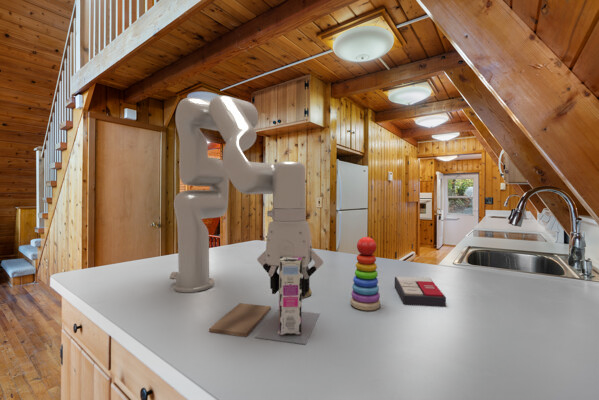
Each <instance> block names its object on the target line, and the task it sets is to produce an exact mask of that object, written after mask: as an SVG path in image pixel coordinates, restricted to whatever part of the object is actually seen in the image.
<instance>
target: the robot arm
mask: <svg viewBox="0 0 599 400" xmlns="http://www.w3.org/2000/svg"><path fill="white" fill-rule="evenodd" d="M174 117H175V126H176V127H175V128H176V130H177V134H178V140H179V179H180V182H181V184H184V185H186V186H190V187H191V186H192V187H209V189H207V190H206V189H189V190H183V191H181V192H179V193H177V194H176V196H175V197H174V199H173V209H174V213H175V218H176V226H177V252H178V253H177V257H178V258H177V259H178V261H177V262H178V263H177V264H178V267H177V268H178V271H172V272H171V274H170V275H169V279H170V280H175V282H174V284H173V289H174V291H176V292H178V293H196V292H201V291H206V290H208V289H210V288H212V287H214V286H215V280H214V279H213V278H210V247H209V246H210V244H209V243H210V240H209V239H210V236H209V235H210V234H209V233H210V232H209V230H208V227H207V226H206V224H205V223H204V221H203V220H204V219H215V218H220V217H223V216H225V214H226V213H227V211H228V208H229V192H230V191H229V190H230V189H229V185H230V182H231V183H232V185H233V187H234V188H235V189H236V190H237V192H240V193H243V194H245V195H272V208H271V210H267V212H266V216H267V217H271V220H272V221H269V222H268V223H269V224H268V228H267V234H266V244H265V250H264V251H263V252H262V253H261V254H260V255H259V256H258V257H257V259H256V260H257V262H258V263H259V264H260V265H261V267H262V268H263V270H265V272H266V273H267V275H268V277H270V278H269V283H270V285H269V287H270V288H269V289H271V294H272V295H276V293H278V292H279V272H278V271H279V262H280V257H296V258H301V259H302V297H305V295H306V294H307V292H309V287H310V277H311V276H312V275H313V274H314V273H315V272H316V271H317V270H318V269H319V268H321V266H322V265H323V264H324V260H323V259H322V258H321V257H320V256H319V255H318V254H317V253H316V252H315V251H314V249H313V245H312V236H311V235H312V234H311V229H310V224H309V222H308V221H306V220H307V219H306V214H307V213H306V209H307V207H306V167H305V165H304V164H303V163H302V162H299V161H292V160H291V161H287V160H286V161H278V162H276V163H268V162H257V161H250V160H248V159H247V157H246V156H245V154H244V152H245V151H247V150H249V149H250V148H251V147H252V146H253V145H254V144H255V143H256V140H257V137H258V136H257V131H256V129H255V128H256V127H257V125H258V122H259V112H258V110H257V107H255V105H254V104H253V103H251V102H250V101H246V100H242V99H240V98H237V97H233V96H229V95H217V96H214V97H213V98H212V99H211V101H210V100H206V99H203V98H198V97H186V98H183V99H181V100H180V101H179V102H178V104H177V107H176V110H175V116H174ZM201 129H206V130H211V131H216V132H217V131H218V132H219V133H220V136H221V137H222V139H223V141H224V142H225V145H224V147H223V151H222V159H218V158H215V157H214V158H213V157H209V154H208V150H209V148H208V147H209V146H208V145H209V144H208V141H207V139H206V136H205V135H204V133H203V132H202V131H201ZM312 261H313V262H314V264H313V265H312V266H311V267H309V264H310V263H311V262H312Z"/></svg>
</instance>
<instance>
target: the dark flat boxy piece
mask: <svg viewBox="0 0 599 400" xmlns="http://www.w3.org/2000/svg"><path fill="white" fill-rule="evenodd" d="M394 289H395V291H396V293H397V295H398V297H399V299H400V302H401V303H402V304H403V305H404V306H405V305H406V306H420V307H443V308H445V307H446V304H447V303H446V302H447V297H446V296H445V294H444V293H443V292H442V290H440V288H439V287H438V286H437V285H436V284H435V282H434V281H433V280H432V279H431V278H430V277H425V276H424V277H423V276H422V277H421V276H395V277H394Z"/></svg>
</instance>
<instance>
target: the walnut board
mask: <svg viewBox="0 0 599 400" xmlns="http://www.w3.org/2000/svg"><path fill="white" fill-rule="evenodd" d="M271 310H272V306H271V305H261V304H252V303H241V302H240V303H238V304H236V306H235V307H233V308H232V309H231V310H229V311H228V312H226V314H224V315H223V317H221V318H220V319H219V320H217V321H216V322H215V323H214V324H213V325H212V326H210V327H209V329H208V332H209V333H213V334H219V335H220V334H221V335H228V336H237V337H242V338H243V337H245V338H247V337H248V336H249V335H250V334H251V333H252V331H253V330H254V329H255V328H256V327H257V326H258V325H259V324H260V323H261V321H262V320H263V319H264V318H265V317H266V315H267V314H268V313H269V312H270V311H271Z"/></svg>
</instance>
